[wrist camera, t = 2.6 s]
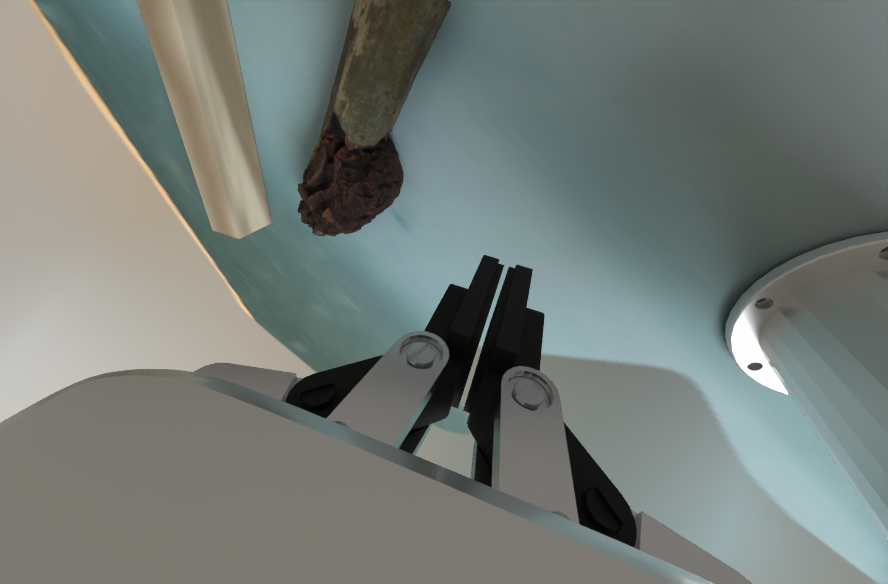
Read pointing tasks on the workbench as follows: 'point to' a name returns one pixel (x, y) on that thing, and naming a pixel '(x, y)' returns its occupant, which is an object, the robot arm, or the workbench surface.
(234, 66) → the bar
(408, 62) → the brown long lumpy piece
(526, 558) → the robot arm
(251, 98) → the workbench surface
